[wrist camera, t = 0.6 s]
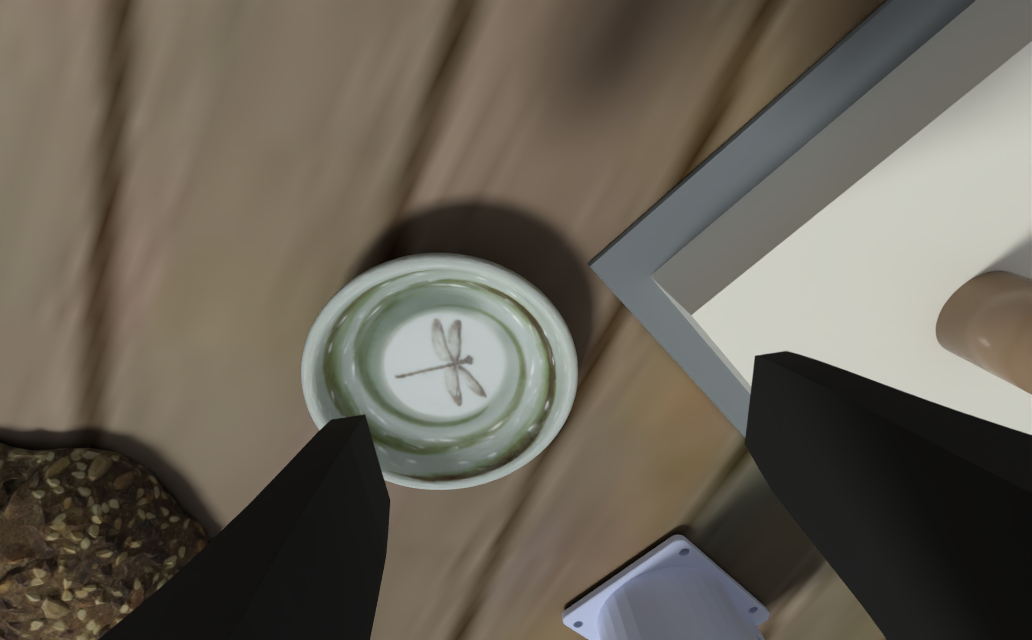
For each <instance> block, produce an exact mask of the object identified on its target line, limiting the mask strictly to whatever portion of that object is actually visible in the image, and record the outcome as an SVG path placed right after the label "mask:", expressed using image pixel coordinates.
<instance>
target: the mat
mask: <svg viewBox="0 0 1032 640" xmlns="http://www.w3.org/2000/svg"><path fill="white" fill-rule="evenodd" d="M975 1H976V0H887V1H886V2H885V3H884V4H882V5H881V6H880V7H879V8H878V9H877V10H876V11H874V12H873V13H872V14H871V15H870V16H869V17H868V18H867V19H865V20H864V21H863V22H862V23H861V24H860V25H859V26H857V27H856V28H855V29H854V30H853V31H852V32H851V33H850V34H848V35H847V36H846V37H845V38H844V39H843V40H842V41H840V42H839V43H838V44H837V45H836V46H835V47H834V48H832V49H831V50H830V51H829V52H828V53H827V54H826V55H825V56H823V57H822V58H821V59H820V60H819V61H818V62H817V63H815V64H814V65H813V66H812V67H811V68H810V69H809V70H808V71H806V72H805V73H804V74H803V75H802V76H801V77H800V78H798V79H797V80H796V81H795V82H794V83H793V84H792V85H790V86H789V87H788V88H787V89H786V90H785V91H784V92H783V93H781V94H780V95H779V96H778V97H777V98H776V99H775V100H773V101H772V102H771V103H770V104H769V105H768V106H767V107H766V108H764V109H763V110H762V111H761V112H760V113H759V114H758V115H756V116H755V117H754V118H753V119H752V120H751V121H750V122H748V123H747V124H746V125H745V126H744V127H743V128H742V129H741V130H739V131H738V132H737V133H736V134H735V135H734V136H733V137H731V138H730V139H729V140H728V141H727V142H726V143H725V144H724V145H722V146H721V147H720V148H719V149H718V150H717V151H716V152H714V153H713V154H712V155H711V156H710V157H709V158H708V159H706V160H705V161H704V162H703V163H702V164H701V165H700V166H699V167H697V168H696V169H695V170H694V171H693V172H692V173H691V174H689V175H688V176H687V177H686V178H685V179H684V180H683V181H682V182H680V183H679V184H678V185H677V186H676V187H675V188H674V189H672V190H671V191H670V192H669V193H668V194H667V195H666V196H664V197H663V198H662V199H661V200H660V201H659V202H658V203H657V204H655V205H654V206H653V207H652V208H651V209H650V210H649V211H647V212H646V213H645V214H644V215H643V216H642V217H641V218H640V219H638V220H637V221H636V222H635V223H634V224H633V225H632V226H630V227H629V228H628V229H627V230H626V231H625V232H624V233H622V234H621V235H620V236H619V237H618V238H617V239H616V240H615V241H613V242H612V243H611V244H610V245H609V246H608V247H607V248H605V249H604V250H603V251H602V252H601V253H600V254H599V255H598V256H596V257H595V258H594V259H593V260H592V261H591V262H590V263H588V265H589V266H590V267H591V268H592V270H593V271H594V272H595V273H596V274H597V275H598V276H599V277H600V278H601V279H602V281H603V282H604V283H605V284H606V285H607V286H608V287H609V288H610V289H611V290H612V292H613V293H614V294H615V295H616V296H617V297H618V298H619V299H620V300H621V301H622V303H623V304H624V305H625V306H626V307H627V308H628V309H629V310H630V311H631V312H632V314H633V315H634V316H635V317H636V318H637V319H638V320H639V321H640V322H641V324H642V325H643V326H644V327H645V328H646V329H647V330H648V331H649V332H650V333H651V335H652V336H653V337H654V338H655V339H656V340H657V341H658V342H659V343H660V344H661V346H662V347H663V348H664V349H665V350H666V351H667V352H668V353H669V354H670V355H671V357H672V358H673V359H674V360H675V361H676V362H677V363H678V364H679V365H680V366H681V368H682V369H683V370H684V371H685V372H686V373H687V374H688V375H689V376H690V377H691V379H692V380H693V381H694V382H695V383H696V384H697V385H698V386H699V387H700V388H701V390H702V391H703V392H704V393H705V394H706V395H707V396H708V397H709V398H710V399H711V401H712V402H713V403H714V404H715V405H716V406H717V407H718V408H719V409H720V410H721V412H722V413H723V414H724V415H725V416H726V417H727V418H728V419H729V420H730V422H731V423H732V424H733V425H734V426H735V427H736V428H737V429H738V430H739V431H740V433H741V434H742V435H743V436H744V437H746V428H747V420H748V411H749V402H750V393H749V392H748V391H747V390H746V389H745V388H744V386H743V385H742V384H741V383H740V382H739V380H738V379H737V378H736V377H735V376H734V375H733V373H732V372H731V371H730V370H729V369H728V367H727V366H726V365H725V364H724V363H723V362H722V360H721V359H720V358H719V357H718V356H717V355H716V353H715V352H714V351H713V350H712V349H711V347H710V346H709V345H708V344H707V343H706V342H705V340H704V339H703V338H702V337H701V336H700V335H699V333H698V332H697V331H696V330H695V329H694V327H693V326H692V325H691V324H690V323H689V322H688V320H687V319H686V318H685V317H684V316H683V315H682V313H681V312H680V311H679V310H678V309H677V307H676V306H675V305H674V304H673V303H672V302H671V300H670V299H669V298H668V297H667V296H666V295H665V293H664V292H663V291H662V290H661V289H660V287H659V286H658V285H657V284H656V283H655V282H654V280H653V279H652V278H651V277H650V275H651V274H653V273H654V272H655V271H656V270H657V269H659V268H660V267H661V266H662V265H663V264H664V263H666V262H667V261H668V260H669V259H670V258H672V257H673V256H674V255H675V254H676V253H678V252H679V251H680V250H681V249H682V248H683V247H685V246H686V245H687V244H688V243H689V242H691V241H692V240H693V239H694V238H695V237H696V236H698V235H699V234H700V233H701V232H702V231H704V230H705V229H706V228H707V227H708V226H709V225H711V224H712V223H713V222H714V221H715V220H717V219H718V218H719V217H720V216H721V215H723V214H724V213H725V212H726V211H727V210H728V209H730V208H731V207H732V206H733V205H734V204H736V203H737V202H738V201H739V200H740V199H741V198H743V197H744V196H745V195H746V194H747V193H749V192H750V191H751V190H752V189H753V188H754V187H756V186H757V185H758V184H759V183H760V182H762V181H763V180H764V179H765V178H766V177H767V176H769V175H770V174H771V173H772V172H773V171H775V170H776V169H777V168H778V167H779V166H781V165H782V164H783V163H784V162H785V161H786V160H788V159H789V158H790V157H791V156H792V155H794V154H795V153H796V152H797V151H798V150H799V149H801V148H802V147H803V146H804V145H805V144H807V143H808V142H809V141H810V140H811V139H812V138H814V137H815V136H816V135H817V134H818V133H820V132H821V131H822V130H823V129H824V128H826V127H827V126H828V125H829V124H830V123H831V122H833V121H834V120H835V119H836V118H837V117H839V116H840V115H841V114H842V113H843V112H844V111H846V110H847V109H848V108H849V107H850V106H852V105H853V104H854V103H855V102H856V101H857V100H859V99H860V98H861V97H862V96H863V95H865V94H866V93H867V92H868V91H869V90H871V89H872V88H873V87H874V86H875V85H876V84H878V83H879V82H880V81H881V80H882V79H884V78H885V77H886V76H887V75H888V74H889V73H891V72H892V71H893V70H894V69H895V68H897V67H898V66H899V65H900V64H901V63H902V62H904V61H905V60H906V59H907V58H908V57H910V56H911V55H912V54H913V53H914V52H915V51H917V50H918V49H919V48H920V47H921V46H923V45H924V44H925V43H926V42H927V41H929V40H930V39H931V38H932V37H933V36H934V35H936V34H937V33H938V32H939V31H940V30H942V29H943V28H944V27H945V26H946V25H947V24H949V23H950V22H951V21H952V20H953V19H955V18H956V17H957V16H958V15H959V14H960V13H962V12H963V11H964V10H965V9H966V8H968V7H969V6H970V5H971V4H972V3H974V2H975Z"/></svg>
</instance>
